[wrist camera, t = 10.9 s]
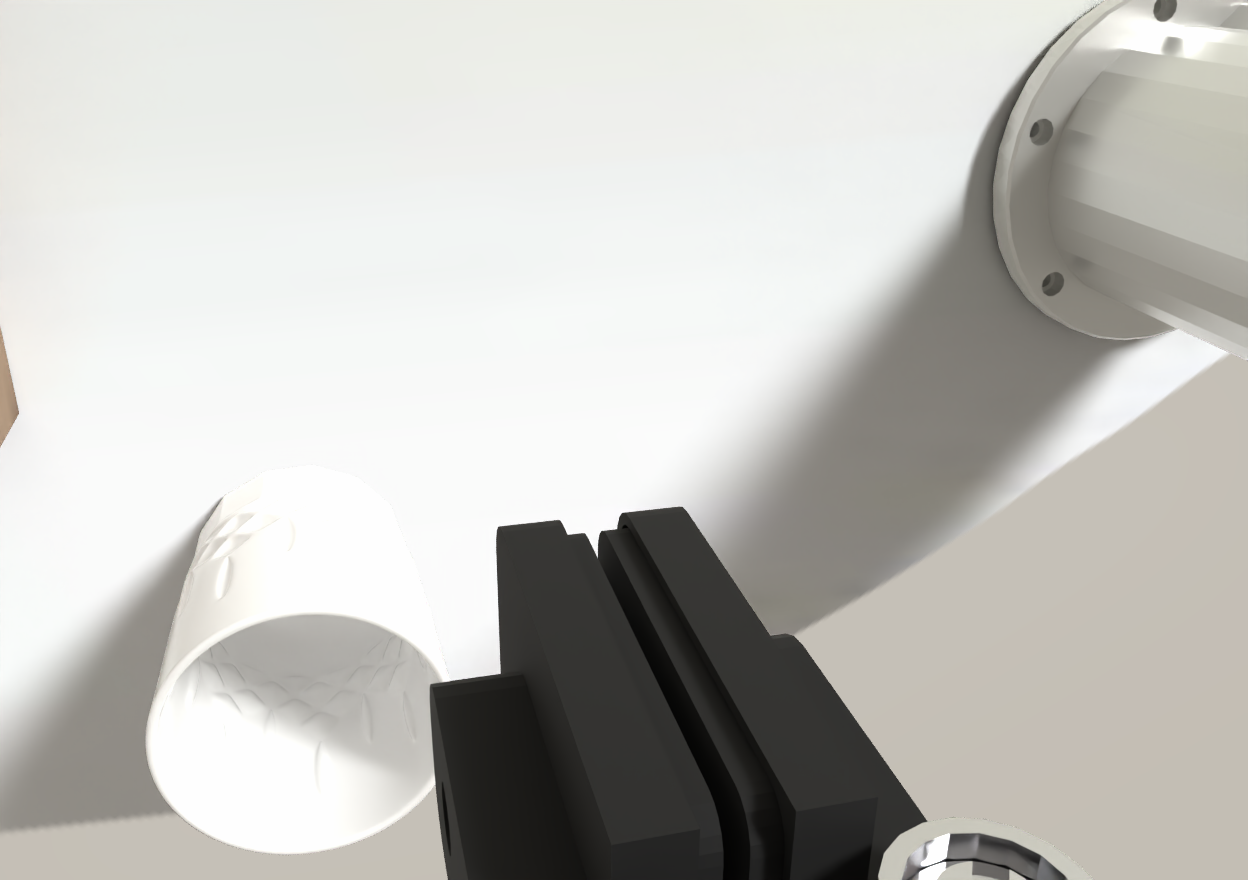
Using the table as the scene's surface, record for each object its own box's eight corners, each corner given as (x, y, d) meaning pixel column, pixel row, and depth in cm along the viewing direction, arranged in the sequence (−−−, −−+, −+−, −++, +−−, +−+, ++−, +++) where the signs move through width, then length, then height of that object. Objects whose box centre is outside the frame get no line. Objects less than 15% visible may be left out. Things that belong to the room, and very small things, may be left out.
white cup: (125, 562, 38) (75, 758, 29) (298, 399, 37) (301, 550, 28) (307, 691, 41) (312, 900, 32) (467, 545, 41) (517, 718, 32)
